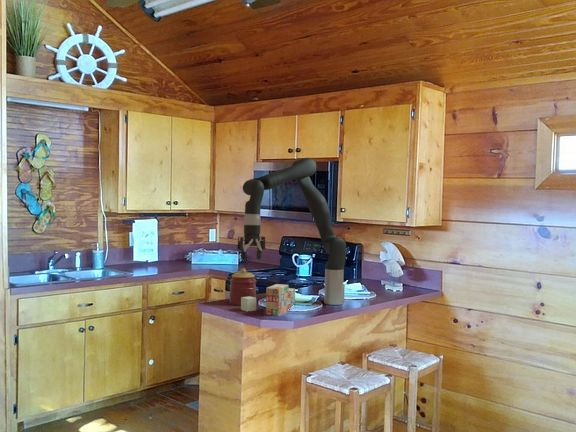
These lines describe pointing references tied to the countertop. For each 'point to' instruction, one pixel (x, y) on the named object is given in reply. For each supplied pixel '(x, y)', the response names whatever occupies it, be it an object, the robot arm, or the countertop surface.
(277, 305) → the stack of blocks
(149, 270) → the countertop surface
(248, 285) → the canister
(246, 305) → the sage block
